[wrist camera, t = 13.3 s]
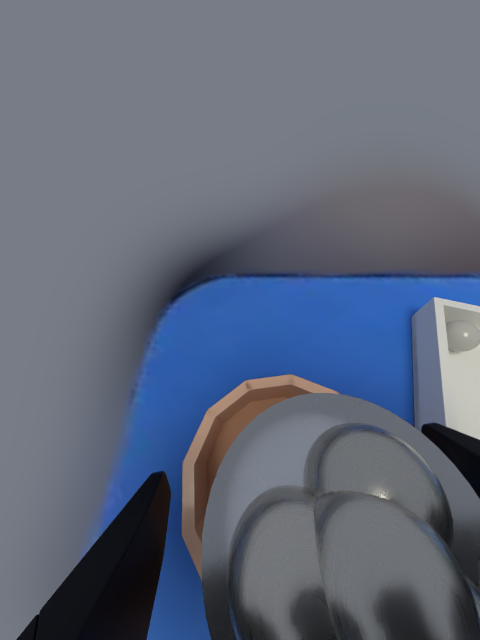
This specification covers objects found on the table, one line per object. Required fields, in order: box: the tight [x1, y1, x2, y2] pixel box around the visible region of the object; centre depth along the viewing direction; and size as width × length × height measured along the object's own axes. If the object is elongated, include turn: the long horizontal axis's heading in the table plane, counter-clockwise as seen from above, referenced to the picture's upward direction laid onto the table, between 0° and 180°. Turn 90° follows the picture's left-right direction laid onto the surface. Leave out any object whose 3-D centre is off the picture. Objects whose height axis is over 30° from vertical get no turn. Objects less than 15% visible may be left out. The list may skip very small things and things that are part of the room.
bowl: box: [182, 374, 340, 580], centre depth 13 cm, size 11×11×4 cm
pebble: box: [446, 321, 480, 352], centre depth 17 cm, size 2×2×2 cm
